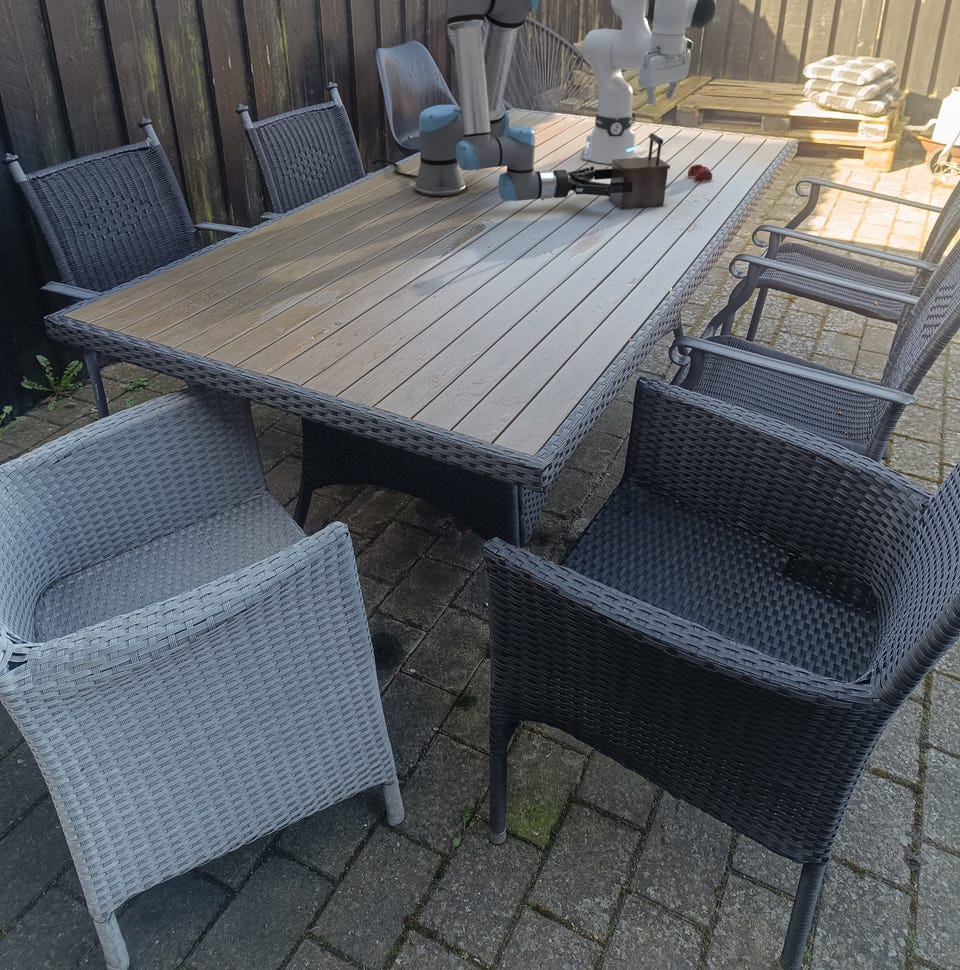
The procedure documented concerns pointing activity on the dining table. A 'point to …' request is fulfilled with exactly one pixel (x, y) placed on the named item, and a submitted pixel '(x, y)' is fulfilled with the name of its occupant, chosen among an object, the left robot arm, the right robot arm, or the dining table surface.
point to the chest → (640, 188)
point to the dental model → (700, 173)
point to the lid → (644, 159)
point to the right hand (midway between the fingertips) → (660, 100)
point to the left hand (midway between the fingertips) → (623, 179)
